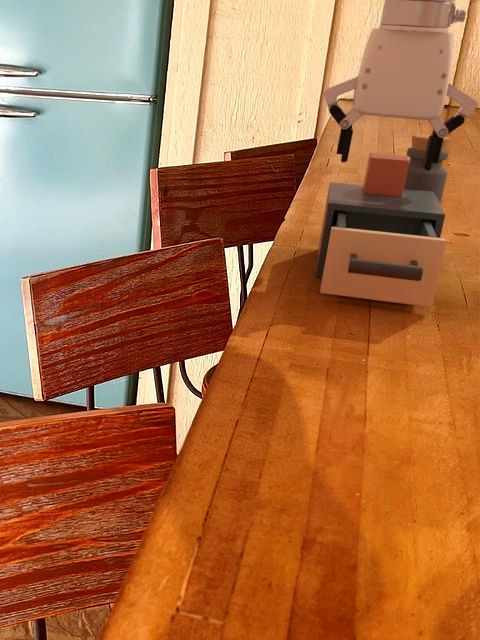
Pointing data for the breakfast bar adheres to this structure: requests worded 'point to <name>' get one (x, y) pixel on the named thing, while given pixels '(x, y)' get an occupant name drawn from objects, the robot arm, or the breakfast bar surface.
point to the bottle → (418, 175)
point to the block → (386, 174)
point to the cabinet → (375, 210)
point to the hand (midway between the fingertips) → (384, 164)
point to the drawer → (383, 258)
